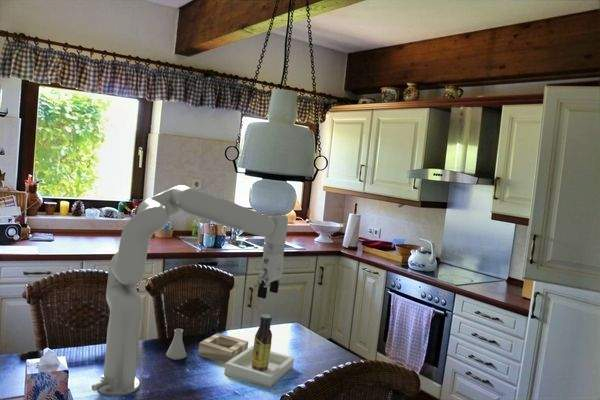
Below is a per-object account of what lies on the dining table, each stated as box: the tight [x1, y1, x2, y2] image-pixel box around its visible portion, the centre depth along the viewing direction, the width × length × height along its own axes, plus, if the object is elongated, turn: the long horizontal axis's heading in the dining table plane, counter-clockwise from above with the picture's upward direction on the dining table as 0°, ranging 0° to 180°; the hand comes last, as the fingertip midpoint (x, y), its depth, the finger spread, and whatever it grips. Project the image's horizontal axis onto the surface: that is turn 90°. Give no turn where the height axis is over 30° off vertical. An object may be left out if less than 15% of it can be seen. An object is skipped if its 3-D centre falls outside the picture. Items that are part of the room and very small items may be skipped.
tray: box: [224, 345, 295, 389], centre depth 181 cm, size 20×18×4 cm
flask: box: [165, 328, 188, 360], centre depth 185 cm, size 7×7×10 cm
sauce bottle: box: [252, 313, 273, 371], centre depth 180 cm, size 7×6×20 cm
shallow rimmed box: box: [197, 332, 249, 364], centre depth 192 cm, size 13×14×5 cm
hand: (267, 294), depth 179 cm, fingers open, 9 cm apart
